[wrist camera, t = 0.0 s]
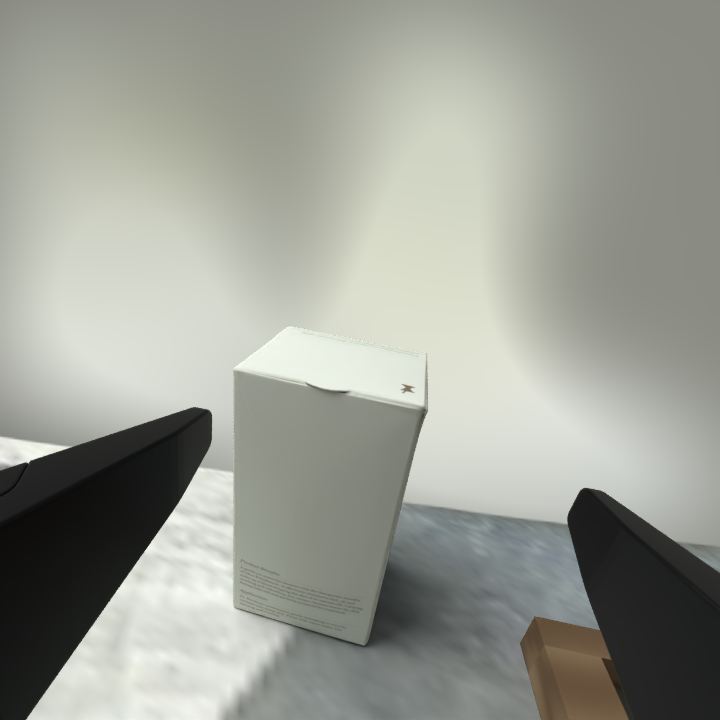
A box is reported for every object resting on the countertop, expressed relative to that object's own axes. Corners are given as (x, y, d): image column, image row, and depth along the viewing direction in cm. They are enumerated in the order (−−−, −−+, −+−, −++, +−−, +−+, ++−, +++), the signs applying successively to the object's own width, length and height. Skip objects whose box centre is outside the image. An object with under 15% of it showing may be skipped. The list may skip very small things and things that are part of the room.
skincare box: (382, 556, 26) (436, 352, 20) (365, 660, 20) (437, 410, 14) (269, 523, 27) (289, 319, 21) (221, 612, 21) (229, 360, 15)
